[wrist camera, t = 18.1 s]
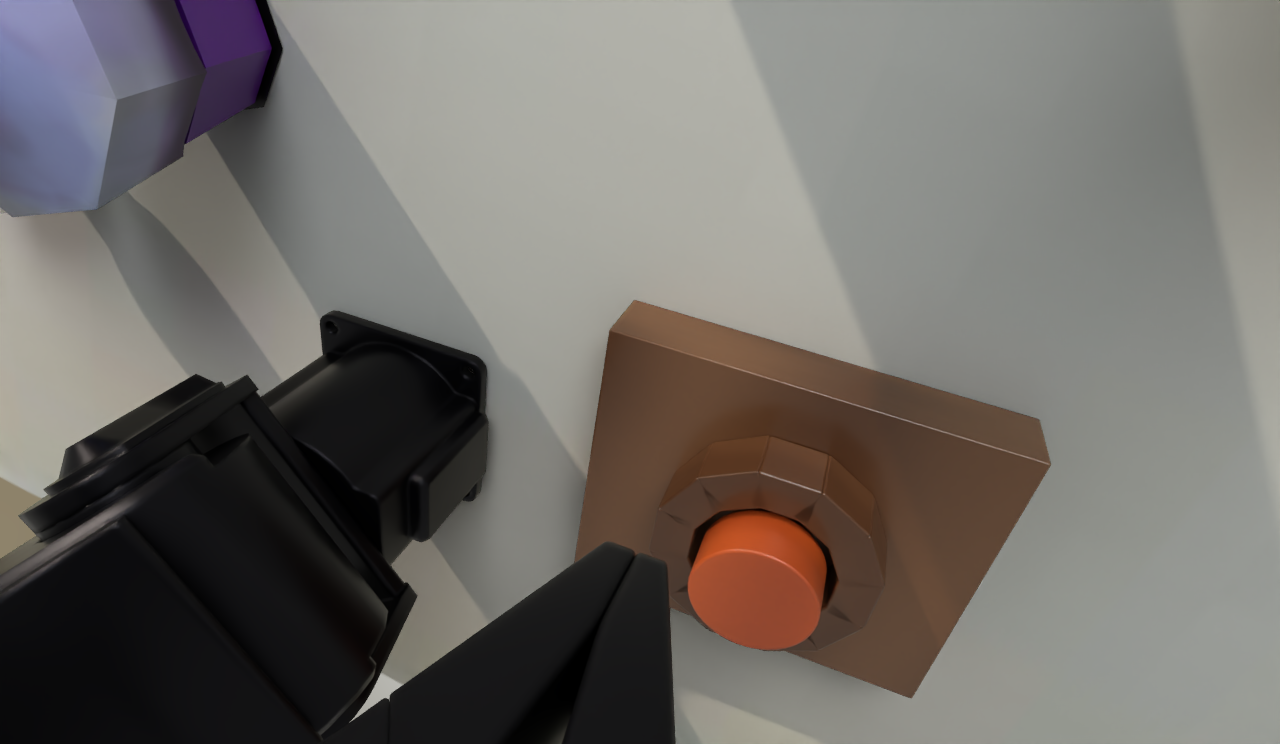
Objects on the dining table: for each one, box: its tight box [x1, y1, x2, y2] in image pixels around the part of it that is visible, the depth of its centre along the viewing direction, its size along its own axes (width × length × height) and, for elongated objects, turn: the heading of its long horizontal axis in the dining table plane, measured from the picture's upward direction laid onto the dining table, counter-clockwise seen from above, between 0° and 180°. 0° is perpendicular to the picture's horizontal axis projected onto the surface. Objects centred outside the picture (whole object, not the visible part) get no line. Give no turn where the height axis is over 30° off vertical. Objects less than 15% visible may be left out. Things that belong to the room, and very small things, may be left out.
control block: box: [574, 300, 1051, 698], centre depth 22 cm, size 12×10×4 cm
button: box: [688, 510, 827, 650], centre depth 20 cm, size 4×4×2 cm
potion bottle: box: [0, 0, 282, 217], centre depth 18 cm, size 9×9×12 cm
